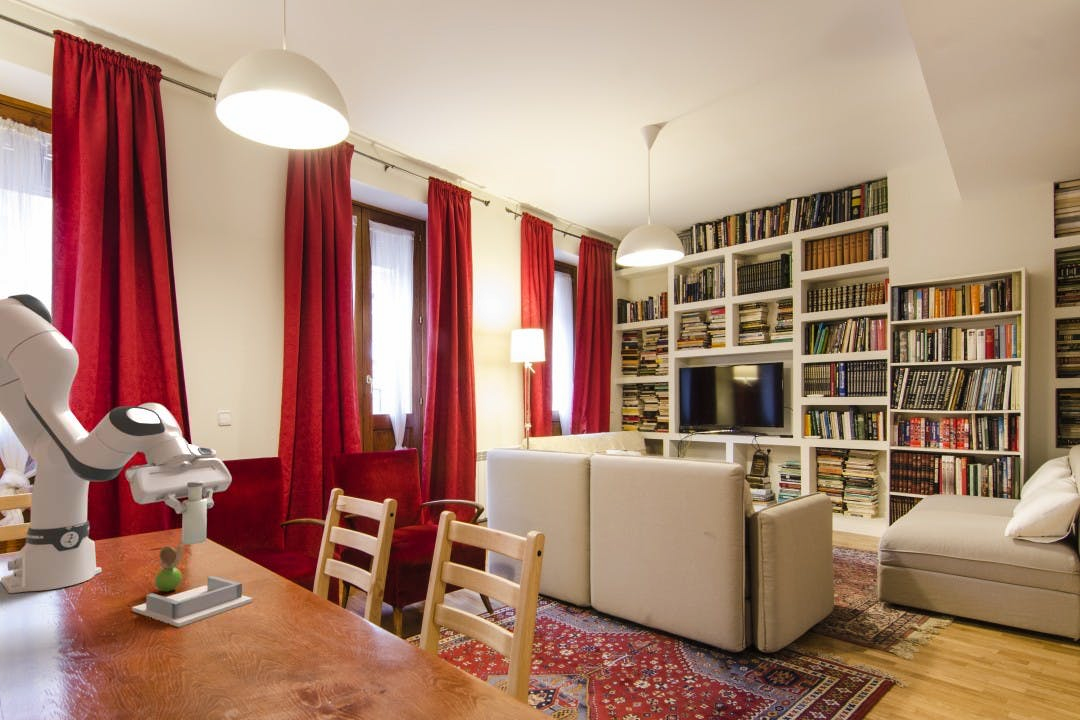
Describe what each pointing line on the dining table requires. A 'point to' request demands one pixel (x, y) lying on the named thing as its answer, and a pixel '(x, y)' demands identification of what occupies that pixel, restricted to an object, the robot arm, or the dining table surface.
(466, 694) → the dining table surface
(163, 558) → the snail figurine
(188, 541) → the pale green bottle
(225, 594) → the u stand
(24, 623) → the dining table surface
